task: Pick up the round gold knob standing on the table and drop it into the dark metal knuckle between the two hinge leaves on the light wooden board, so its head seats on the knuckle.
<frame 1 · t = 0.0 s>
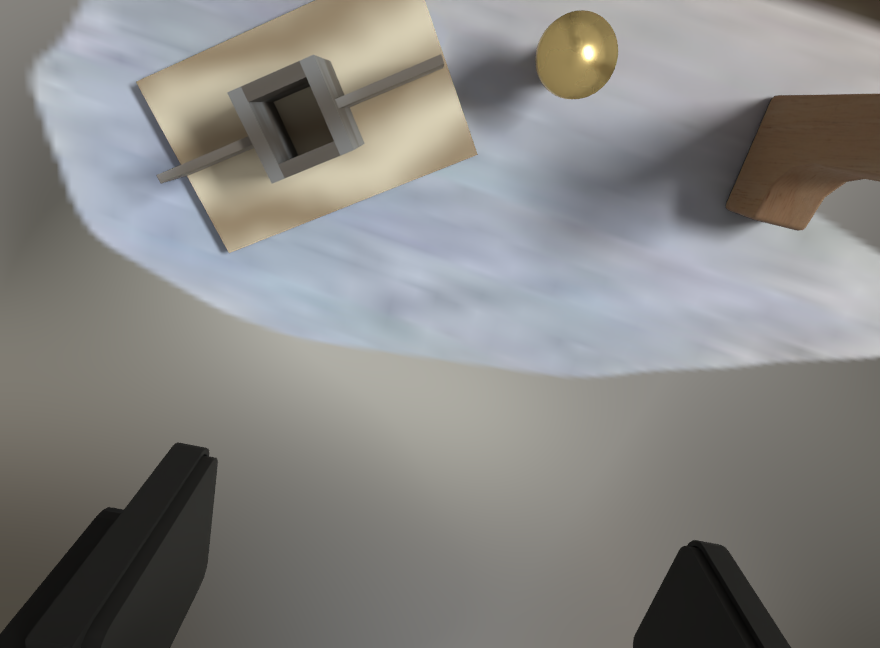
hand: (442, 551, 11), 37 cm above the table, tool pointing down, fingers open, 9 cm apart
wooden block: (769, 159, 44), on the table
round gold knob: (558, 62, 41), on the table
hinge base: (313, 118, 43), on the table
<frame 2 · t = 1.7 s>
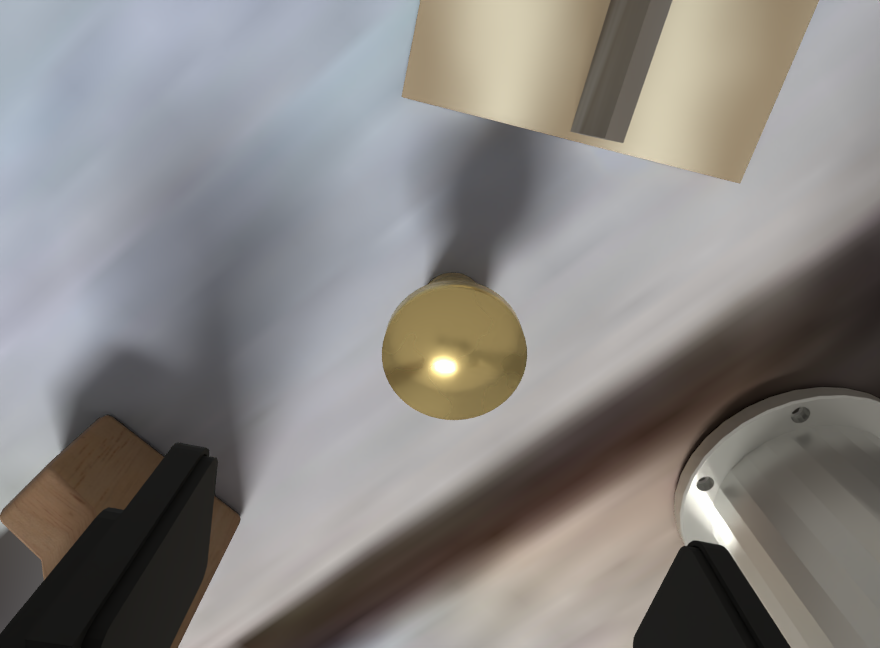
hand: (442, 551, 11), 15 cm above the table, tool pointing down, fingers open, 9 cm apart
wooden block: (155, 485, 29), on the table
round gold knob: (452, 301, 25), on the table
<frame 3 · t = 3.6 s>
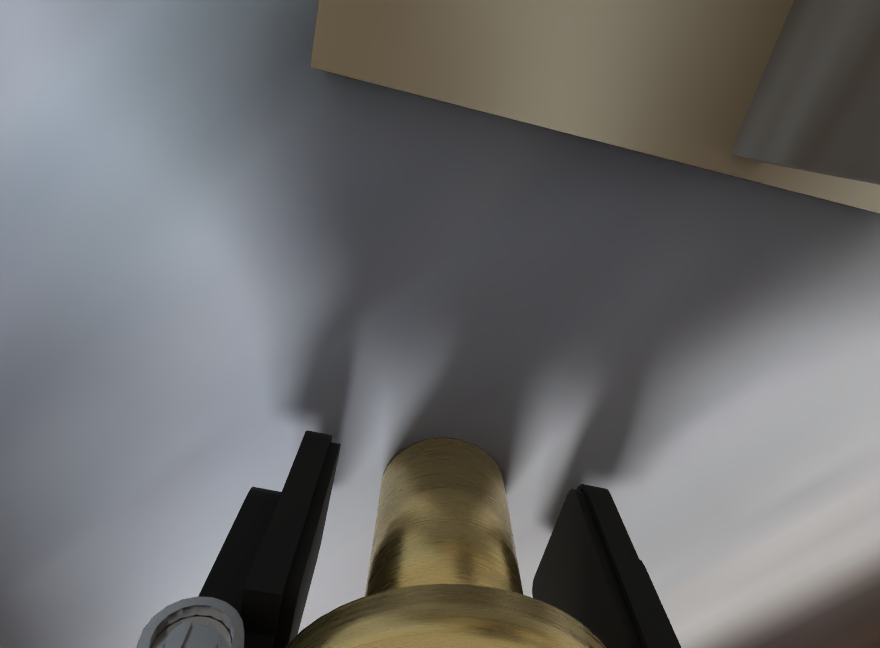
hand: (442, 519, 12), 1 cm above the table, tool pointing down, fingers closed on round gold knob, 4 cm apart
round gold knob: (442, 489, 12), on the table, touching gripper
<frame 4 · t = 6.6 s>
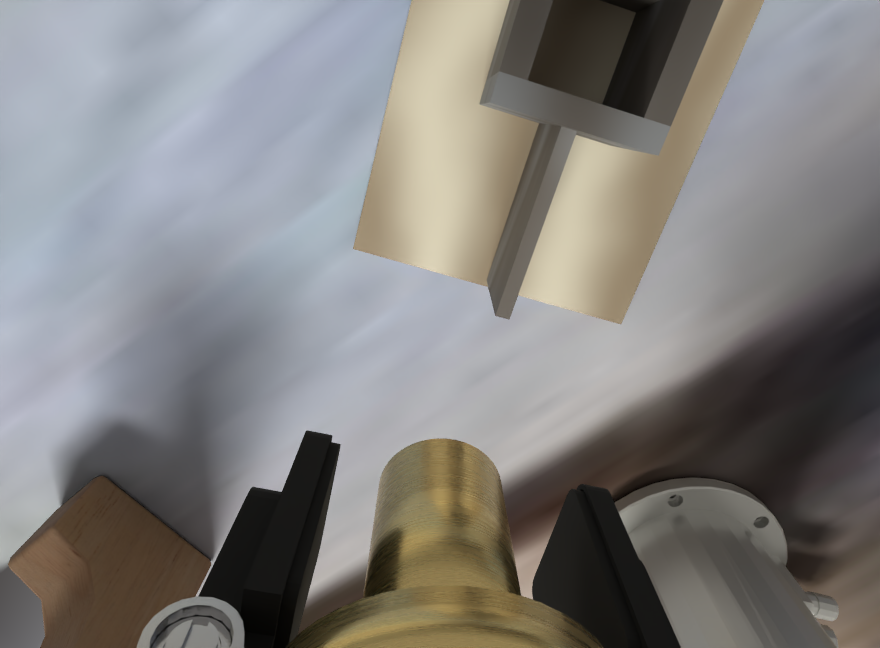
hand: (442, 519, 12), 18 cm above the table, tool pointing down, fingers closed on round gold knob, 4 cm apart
wooden block: (139, 533, 34), on the table
round gold knob: (440, 490, 12), point 17 cm above the table, touching gripper
hinge base: (565, 53, 24), on the table
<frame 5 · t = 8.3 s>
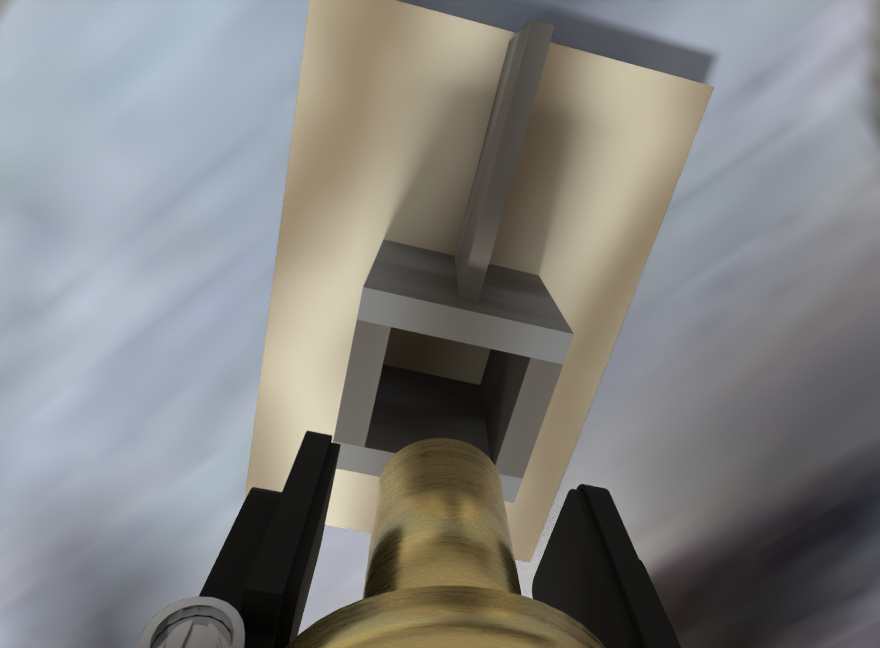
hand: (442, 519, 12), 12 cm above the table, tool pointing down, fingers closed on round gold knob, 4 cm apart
round gold knob: (439, 489, 12), point 11 cm above the table, touching gripper
hinge base: (443, 320, 23), on the table
when the fingers open (9 cm above the table, at t = 9.6 s): round gold knob drops 6 cm, resting on hinge base.
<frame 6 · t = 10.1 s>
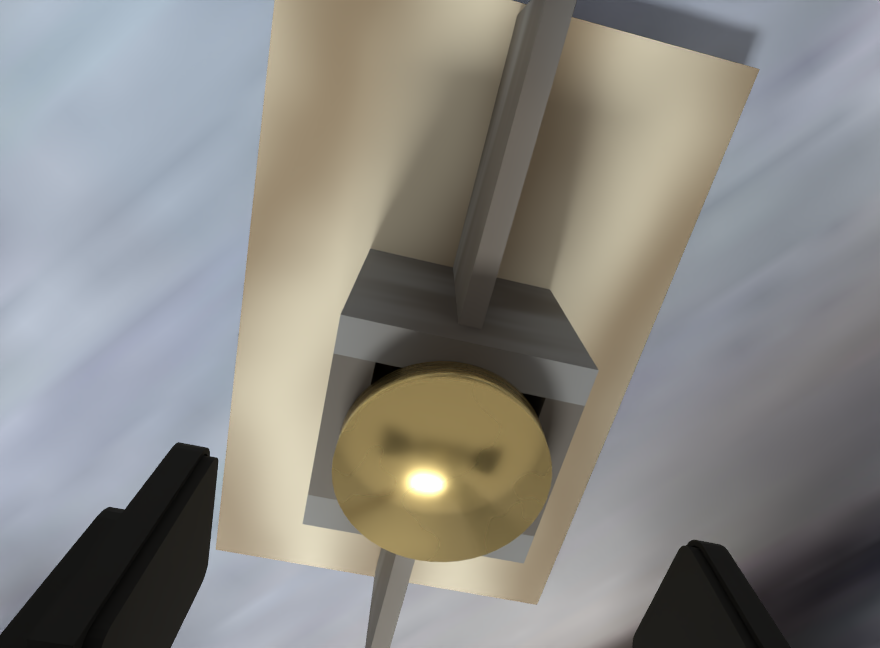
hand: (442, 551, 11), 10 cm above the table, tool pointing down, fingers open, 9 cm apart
round gold knob: (440, 364, 18), point 2 cm above the table, touching hinge base
hinge base: (439, 339, 20), on the table
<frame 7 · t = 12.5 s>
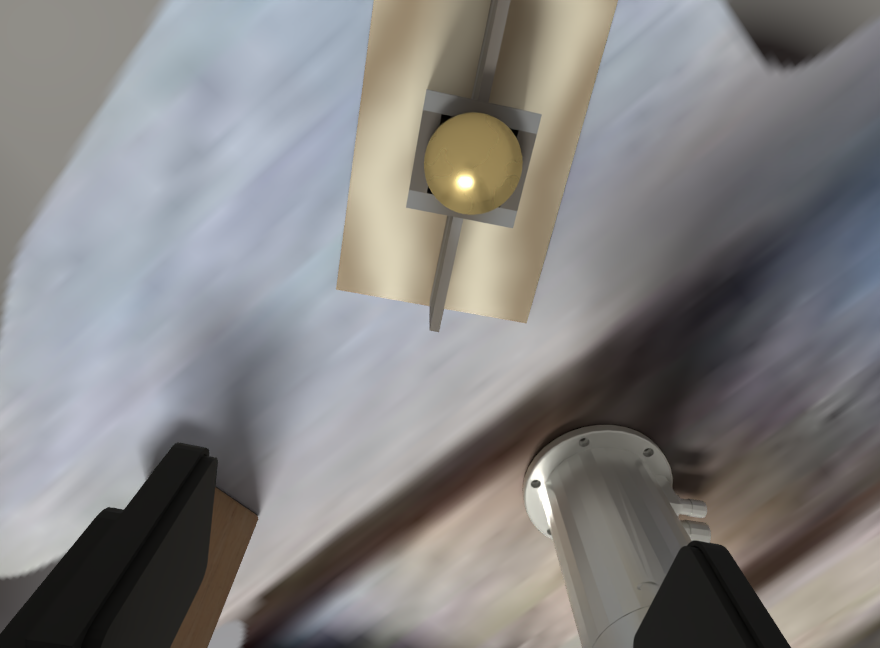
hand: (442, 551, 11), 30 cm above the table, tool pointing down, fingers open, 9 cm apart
wooden block: (204, 500, 48), on the table
round gold knob: (466, 153, 34), point 2 cm above the table, touching hinge base
hinge base: (464, 149, 36), on the table
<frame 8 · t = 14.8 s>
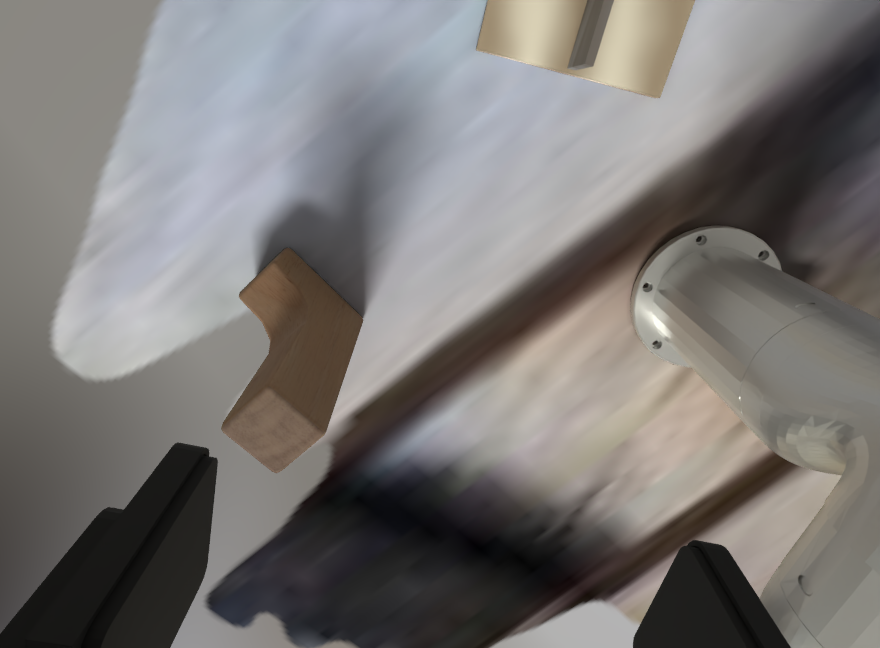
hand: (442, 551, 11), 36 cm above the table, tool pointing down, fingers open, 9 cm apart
wooden block: (310, 298, 47), on the table
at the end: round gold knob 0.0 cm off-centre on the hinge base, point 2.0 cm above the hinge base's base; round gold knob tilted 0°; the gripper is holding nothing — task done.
